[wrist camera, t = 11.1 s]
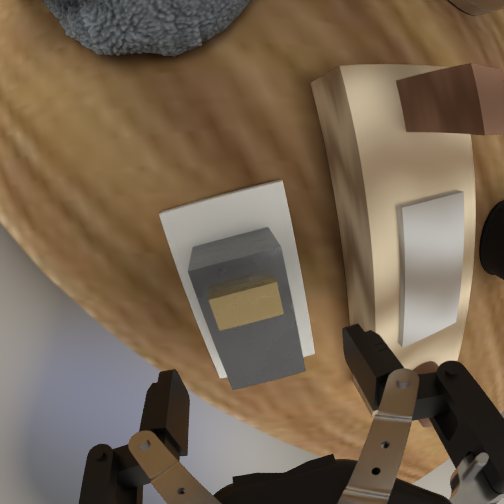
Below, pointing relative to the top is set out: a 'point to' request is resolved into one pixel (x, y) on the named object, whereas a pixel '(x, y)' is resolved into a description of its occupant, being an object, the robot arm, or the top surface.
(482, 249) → the aerosol can
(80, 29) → the koala plush
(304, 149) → the top surface
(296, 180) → the top surface
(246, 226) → the rubber mat
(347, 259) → the hand plane
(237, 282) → the lever cap
